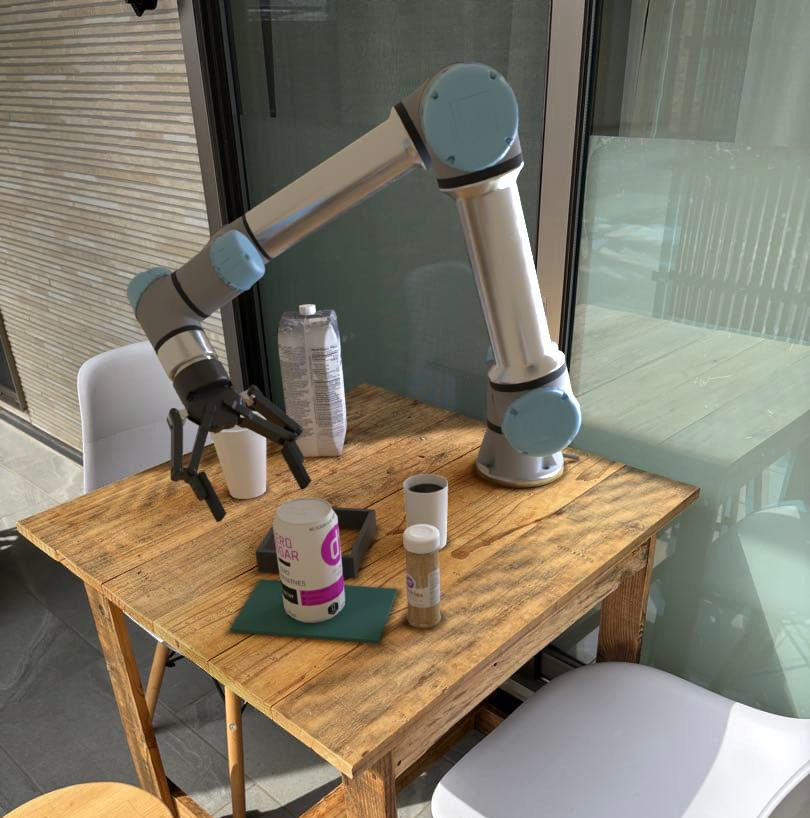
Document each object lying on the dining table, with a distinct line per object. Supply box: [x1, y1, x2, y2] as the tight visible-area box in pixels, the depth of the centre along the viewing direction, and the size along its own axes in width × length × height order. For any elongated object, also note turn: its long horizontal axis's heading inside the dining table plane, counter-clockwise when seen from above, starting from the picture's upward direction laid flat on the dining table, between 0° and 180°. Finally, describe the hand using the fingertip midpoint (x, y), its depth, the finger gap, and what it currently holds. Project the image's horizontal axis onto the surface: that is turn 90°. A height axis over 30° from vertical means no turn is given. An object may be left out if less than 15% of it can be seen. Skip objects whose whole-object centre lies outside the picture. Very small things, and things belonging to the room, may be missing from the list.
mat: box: [229, 579, 398, 645], centre depth 115 cm, size 20×12×1 cm, turn 79°
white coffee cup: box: [402, 473, 449, 550], centre depth 127 cm, size 7×7×10 cm
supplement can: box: [272, 496, 345, 623], centre depth 111 cm, size 8×8×15 cm
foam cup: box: [209, 410, 267, 500], centre depth 144 cm, size 10×9×13 cm
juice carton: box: [276, 303, 348, 458], centre depth 155 cm, size 9×10×27 cm
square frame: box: [254, 506, 378, 579], centre depth 128 cm, size 15×15×4 cm
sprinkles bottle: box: [402, 524, 442, 629], centre depth 109 cm, size 5×5×13 cm
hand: (265, 501), depth 117 cm, fingers open, 13 cm apart
